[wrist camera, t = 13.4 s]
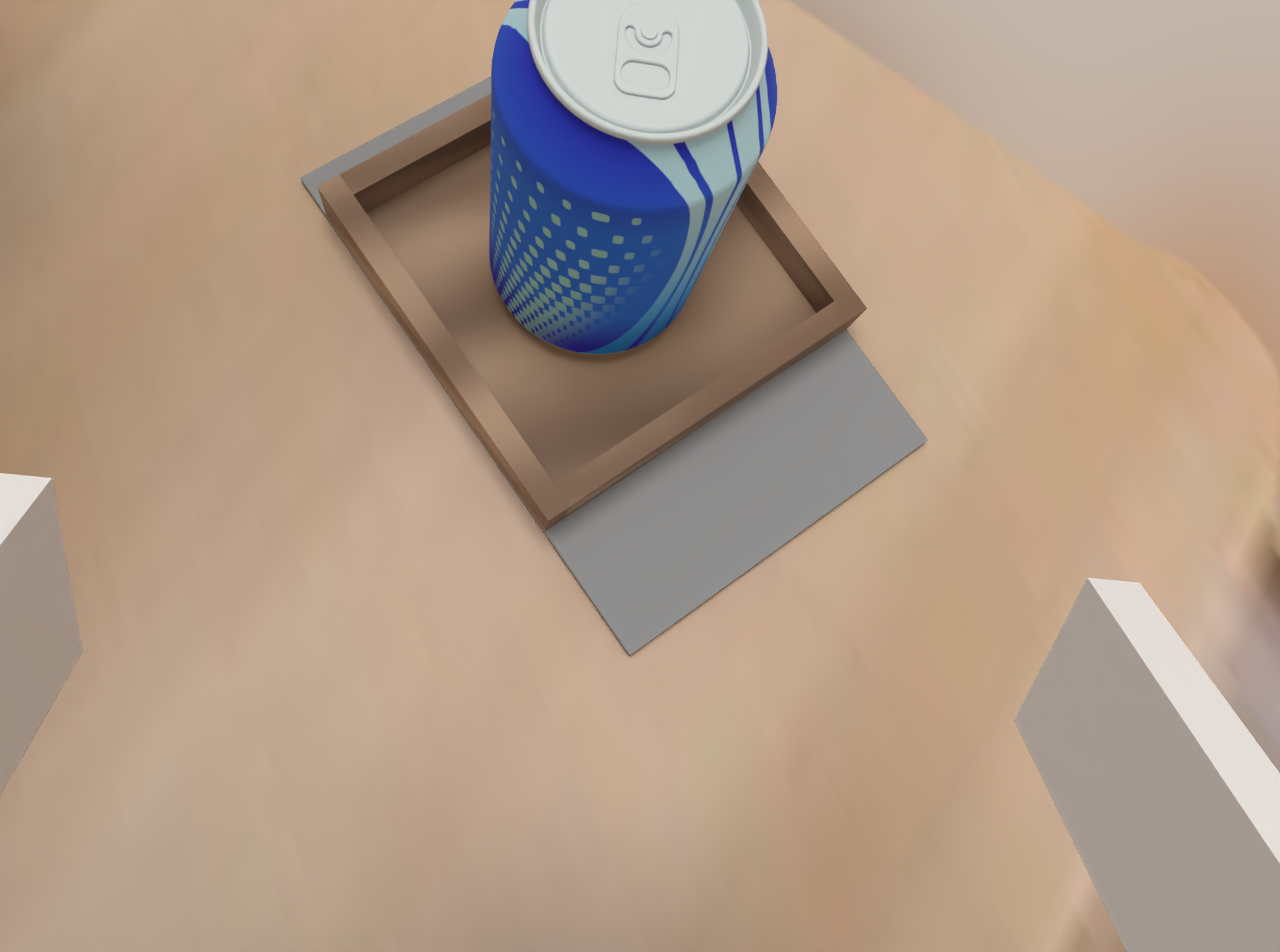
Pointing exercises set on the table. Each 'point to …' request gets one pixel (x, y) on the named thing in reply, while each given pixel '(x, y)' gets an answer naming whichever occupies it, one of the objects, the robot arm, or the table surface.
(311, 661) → the table surface
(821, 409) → the placemat
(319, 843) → the table surface
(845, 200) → the table surface
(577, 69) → the beer can
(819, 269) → the tray
